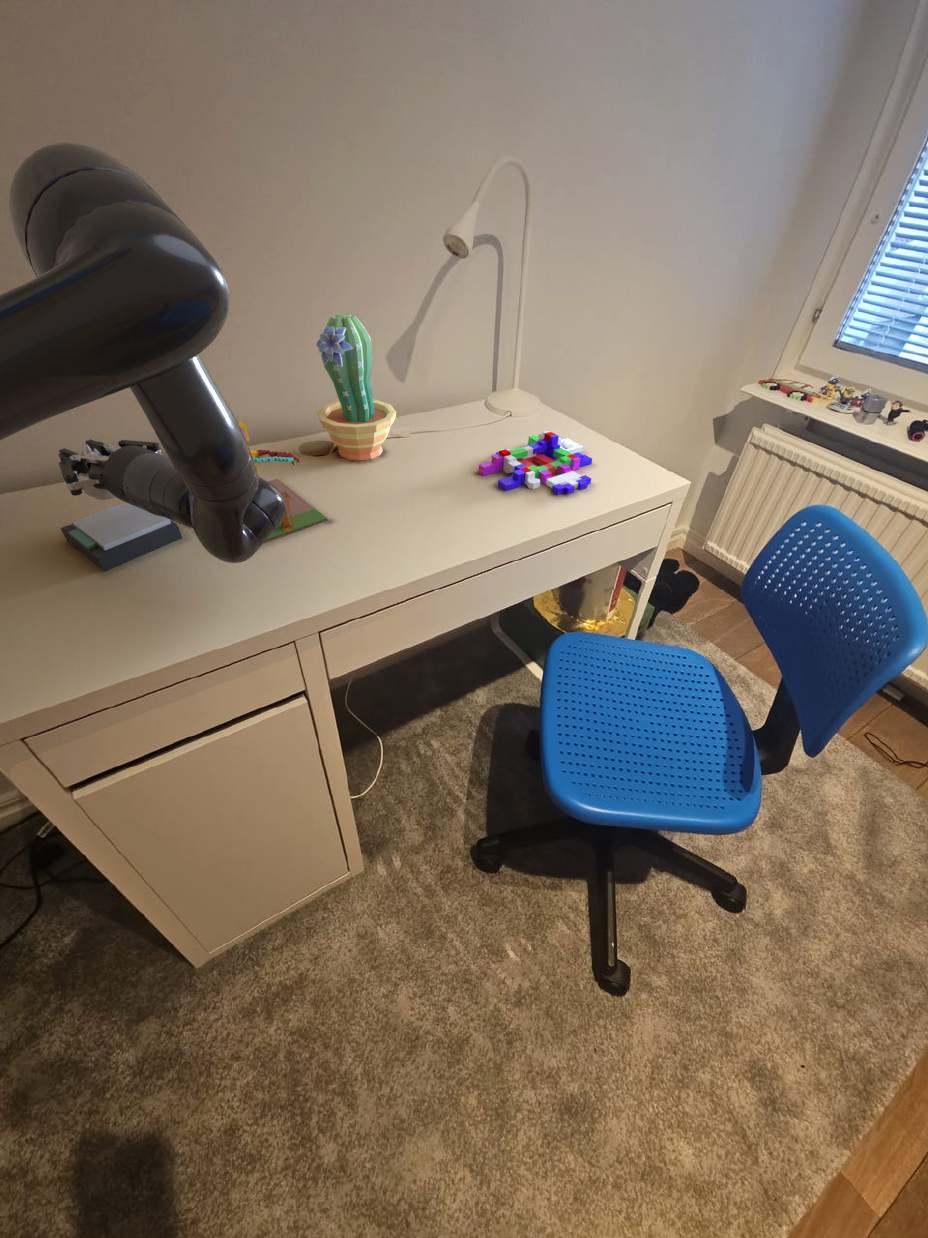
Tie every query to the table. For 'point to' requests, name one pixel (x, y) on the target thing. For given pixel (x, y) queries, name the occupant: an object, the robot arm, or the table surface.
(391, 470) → the table surface
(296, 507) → the figurine
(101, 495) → the white sculpted piece
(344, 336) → the potted cactus
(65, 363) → the robot arm
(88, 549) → the scale
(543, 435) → the building block set
